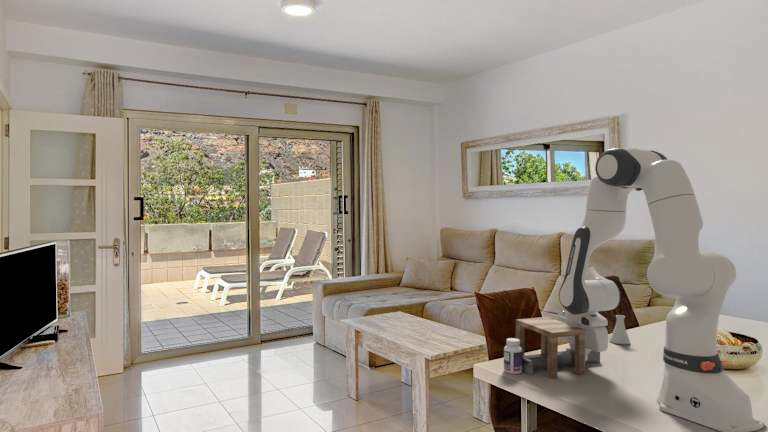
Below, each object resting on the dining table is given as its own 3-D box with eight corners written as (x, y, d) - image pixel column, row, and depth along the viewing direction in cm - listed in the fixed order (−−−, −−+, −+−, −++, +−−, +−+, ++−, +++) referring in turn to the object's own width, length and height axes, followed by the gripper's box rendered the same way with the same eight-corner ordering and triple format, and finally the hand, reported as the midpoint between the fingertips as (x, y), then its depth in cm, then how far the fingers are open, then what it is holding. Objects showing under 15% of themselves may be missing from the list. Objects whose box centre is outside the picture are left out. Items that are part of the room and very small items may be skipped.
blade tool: (606, 364, 159) (606, 352, 159) (528, 374, 149) (528, 361, 149) (588, 357, 166) (588, 345, 166) (513, 366, 156) (513, 353, 156)
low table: (584, 374, 149) (585, 329, 149) (551, 378, 145) (552, 332, 145) (545, 357, 166) (546, 316, 166) (515, 360, 162) (515, 319, 162)
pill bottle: (522, 369, 153) (522, 338, 153) (521, 375, 148) (521, 342, 148) (504, 367, 155) (504, 336, 155) (503, 373, 150) (503, 341, 150)
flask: (626, 340, 188) (626, 314, 188) (634, 345, 181) (634, 318, 181) (606, 339, 189) (606, 313, 189) (613, 344, 182) (613, 317, 182)
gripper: (550, 309, 168) (550, 350, 169) (595, 323, 149) (594, 368, 149) (566, 308, 171) (565, 348, 171) (612, 321, 151) (611, 366, 152)
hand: (579, 358), depth 160 cm, fingers closed on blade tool, 2 cm apart
